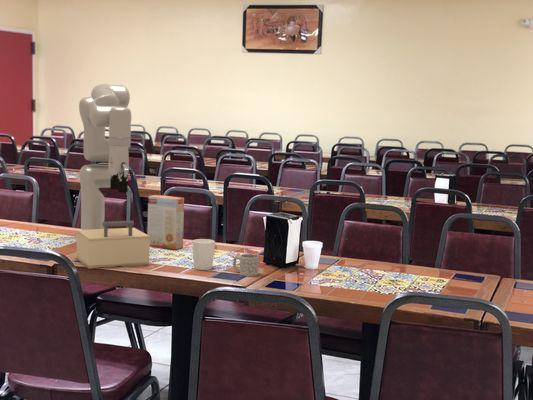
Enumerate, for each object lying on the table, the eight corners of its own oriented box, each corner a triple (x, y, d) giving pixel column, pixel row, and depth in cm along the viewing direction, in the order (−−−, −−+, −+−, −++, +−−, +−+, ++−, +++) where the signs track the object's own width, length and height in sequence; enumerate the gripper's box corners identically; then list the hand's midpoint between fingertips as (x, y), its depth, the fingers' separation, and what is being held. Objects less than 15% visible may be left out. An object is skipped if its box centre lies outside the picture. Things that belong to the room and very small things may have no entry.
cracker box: (183, 248, 312) (185, 197, 309) (175, 250, 306) (176, 198, 303) (155, 244, 318) (156, 194, 315) (146, 246, 312) (147, 195, 310)
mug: (261, 274, 272) (262, 255, 271) (251, 277, 266) (252, 258, 265) (238, 269, 277) (238, 251, 276) (227, 273, 271) (228, 254, 270)
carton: (76, 258, 283) (76, 231, 282) (133, 255, 294) (134, 229, 292) (88, 268, 268) (89, 240, 266) (149, 265, 278) (149, 238, 276)
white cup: (200, 264, 282) (201, 238, 281) (218, 268, 278) (219, 240, 277) (187, 268, 275) (188, 241, 274) (205, 271, 272) (206, 244, 270)
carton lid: (76, 231, 282) (76, 215, 281) (134, 229, 292) (134, 213, 291) (89, 240, 266) (89, 223, 266) (149, 237, 276) (150, 221, 276)
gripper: (102, 141, 276) (101, 188, 278) (116, 144, 260) (115, 193, 262) (122, 141, 279) (121, 188, 281) (137, 144, 264) (136, 193, 266)
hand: (118, 190), depth 272 cm, fingers open, 9 cm apart
